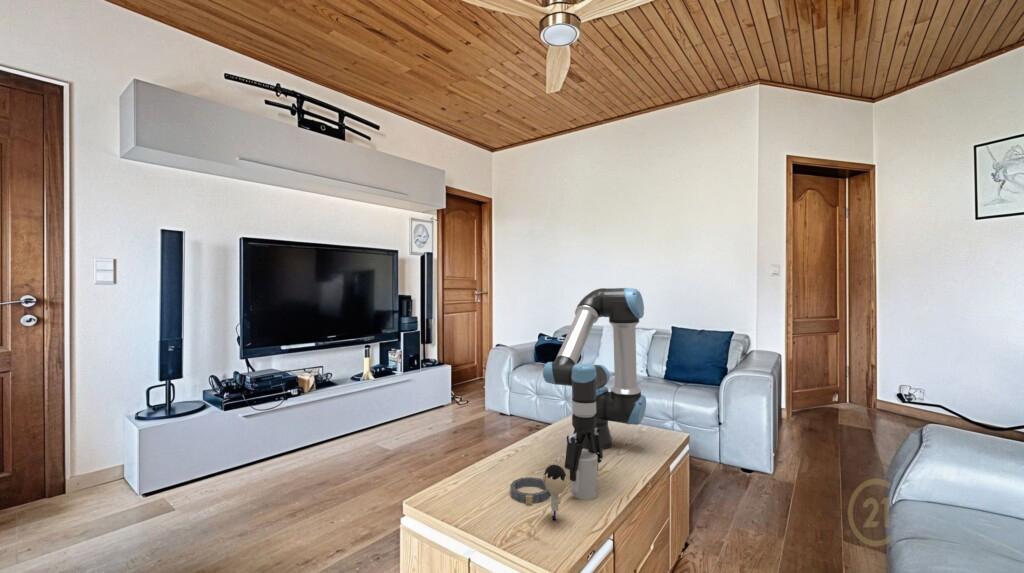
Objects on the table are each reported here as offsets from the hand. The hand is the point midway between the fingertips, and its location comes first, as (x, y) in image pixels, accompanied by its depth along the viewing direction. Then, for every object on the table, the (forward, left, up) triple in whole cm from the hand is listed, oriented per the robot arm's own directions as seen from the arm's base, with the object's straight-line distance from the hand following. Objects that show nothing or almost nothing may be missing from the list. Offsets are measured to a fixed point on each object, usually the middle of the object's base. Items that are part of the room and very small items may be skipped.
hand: (584, 486), depth 137 cm
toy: (+18, +5, -2) cm, 19 cm away
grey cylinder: (0, 0, -2) cm, 2 cm away
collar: (+13, -11, -2) cm, 17 cm away
